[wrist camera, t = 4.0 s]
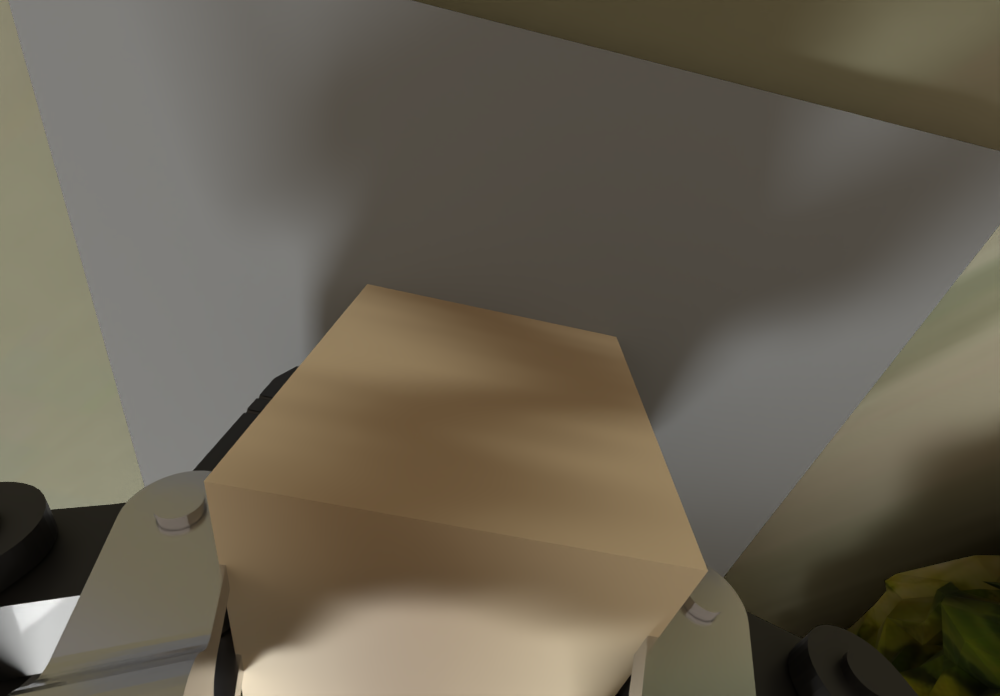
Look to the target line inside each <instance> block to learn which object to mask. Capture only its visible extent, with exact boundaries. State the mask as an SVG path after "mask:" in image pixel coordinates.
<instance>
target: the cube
mask: <svg viewBox="0 0 1000 696" xmlns="http://www.w3.org/2000/svg"><path fill="white" fill-rule="evenodd" d="M204 485H205V490H206V496H207V501H208V507H209V512H210V518H211V523H212V529H213V534H214V540H215V545H216V551H217V556H218V562H219V564H221V565H226V568H227V574H228V580H229V586H230V592H229V597H228V602H227V611H228V617H229V622H230V628H231V633H232V639H233V644H234V650H235V654H239V655H241V657H242V663H243V669H244V675H243V681H242V694H243V696H615V695H616V694H617V693H618V691H619V690H620V688H621V687H622V686H623V684H624V683H625V682H626V680H627V679H628V678H629V676H630V675H631V674H632V666H633V658H634V654H635V653H636V651H637V650H638V649H639V647H640V646H641V644H642V643H643V642H644V640H645V639H646V638H647V636H653V637H659V636H660V635H661V634H662V632H663V631H664V630H665V628H666V627H667V625H668V624H669V623H670V621H671V620H672V619H673V617H674V616H675V615H676V613H677V612H678V611H679V609H680V608H681V607H682V605H683V604H684V603H685V601H686V600H687V599H688V597H689V596H690V595H691V593H692V592H693V591H694V589H695V588H696V587H697V585H698V584H699V583H700V581H701V580H702V579H703V577H704V576H705V575H706V573H707V572H708V569H707V567H706V564H705V562H704V559H703V557H702V554H701V552H700V549H699V546H698V544H697V541H696V539H695V536H694V534H693V531H692V529H691V526H690V523H689V521H688V518H687V516H686V513H685V511H684V508H683V506H682V503H681V500H680V498H679V495H678V493H677V490H676V488H675V485H674V483H673V480H672V478H671V475H670V472H669V470H668V467H667V465H666V462H665V460H664V457H663V455H662V452H661V449H660V447H659V444H658V442H657V439H656V437H655V434H654V432H653V429H652V426H651V424H650V421H649V419H648V416H647V414H646V411H645V409H644V406H643V403H642V401H641V398H640V396H639V393H638V391H637V388H636V386H635V383H634V380H633V378H632V375H631V373H630V370H629V368H628V365H627V363H626V360H625V358H624V355H623V352H622V350H621V347H620V345H619V342H618V340H617V337H615V336H610V335H605V334H601V333H596V332H591V331H586V330H582V329H577V328H572V327H568V326H563V325H558V324H553V323H549V322H544V321H539V320H535V319H530V318H525V317H520V316H516V315H511V314H506V313H502V312H497V311H492V310H487V309H483V308H478V307H473V306H469V305H464V304H459V303H454V302H450V301H445V300H440V299H436V298H431V297H426V296H421V295H417V294H412V293H407V292H403V291H398V290H393V289H388V288H384V287H379V286H374V285H370V284H367V285H366V286H365V288H364V289H363V290H362V291H361V292H360V294H359V295H358V296H357V297H356V298H355V300H354V301H353V302H352V303H351V304H350V306H349V307H348V308H347V309H346V310H345V312H344V313H343V314H342V315H341V316H340V318H339V319H338V320H337V321H336V322H335V324H334V325H333V326H332V327H331V328H330V330H329V331H328V332H327V333H326V335H325V336H324V337H323V338H322V339H321V341H320V342H319V343H318V344H317V345H316V347H315V348H314V349H313V350H312V351H311V353H310V354H309V355H308V356H307V357H306V359H305V360H304V361H303V362H302V363H301V365H300V366H299V367H298V368H297V369H296V371H295V372H294V373H293V374H292V375H291V377H290V378H289V379H288V380H287V382H286V383H285V384H284V385H283V386H282V388H281V389H280V390H279V391H278V392H277V394H276V395H275V396H274V397H273V398H272V400H271V401H270V402H269V403H268V404H267V406H266V407H265V408H264V409H263V410H262V412H261V413H260V414H259V415H258V416H257V418H256V419H255V420H254V421H253V422H252V424H251V425H250V426H249V427H248V429H247V430H246V431H245V432H244V433H243V435H242V436H241V437H240V438H239V439H238V441H237V442H236V443H235V444H234V445H233V447H232V448H231V449H230V450H229V451H228V453H227V454H226V455H225V456H224V457H223V459H222V460H221V461H220V462H219V463H218V465H217V466H216V467H215V468H214V469H213V471H212V472H211V473H210V474H209V475H208V477H207V478H206V479H205V480H204Z"/></svg>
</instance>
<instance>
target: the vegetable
mask: <svg viewBox="0 0 1000 696" xmlns="http://www.w3.org/2000/svg"><path fill="white" fill-rule="evenodd" d="M884 581H885V585H886V589H887V591H886V592H885V593H884V594H883V595H882V597H881V598H880V599H879V600H878V601H877V602H876V604H875V605H874V606H872V607H871V608H870V609H869V610H868V611H867V612H866V613H865V614H864V615H863V616H862V617H861V618H860V619H859V620H858V621H857V622H856V623H855V624H854V625H852V626H851V627H850V628H849V629H847V631H849V632H851V633H853V634H855V635H857V636H858V637H860V638H862V639H863V640H865V641H866V642H867V643H869V644H870V645H872V646H873V647H874V648H875V649H876V650H878V651H879V652H880V653H881V654H882V655H883V656H884V657H885V658H886V659H887V660H888V661H889V662H890V663H891V664H892V665H893V666H894V667H895V668H896V669H897V670H898V671H899V673H900V674H901V675H902V676H903V677H904V679H905V680H906V681H907V682H908V684H909V685H910V686H911V687H912V688H913V690H914V691H915V692H916V693H917V695H918V696H1000V555H974V556H970V557H965V558H961V559H957V560H953V561H948V562H944V563H940V564H936V565H931V566H927V567H923V568H919V569H914V570H910V571H906V572H902V573H897V574H896V575H894V576H892V577H890V578H888V579H887V580H884Z"/></svg>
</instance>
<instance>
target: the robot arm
mask: <svg viewBox="0 0 1000 696" xmlns="http://www.w3.org/2000/svg"><path fill="white" fill-rule="evenodd" d="M297 368H298V366H296V367H294V368H292V369H290V370H289V371H287V372H285V373H283V374H281V375H279V376H277V377H275V378H274V379H273V380H272V381H271V382H270V383H269V385H268V386H267V387H266V388H265V389H264V390H263V391H262V393H261V394H260V396H259V398H256V399H255V401H254V402H253V403H252V404H251V405H250V406H249V407H248V408H247V412H246V413H243V414H242V415H241V416H240V418H239V419H238V420H237V421H236V422H235V423H234V424H233V425H232V427H231V428H230V429H229V430H228V431H227V432H226V433H225V435H224V436H223V437H222V438H221V439H220V440H219V441H218V443H217V444H216V445H215V446H214V447H213V448H212V449H211V450H210V452H209V453H208V454H207V455H206V456H205V457H204V458H203V460H202V461H201V462H200V463H199V464H198V465H197V466H196V467H195V469H194V470H193V471H188V472H182V473H177V474H173V475H170V476H167V477H164V478H162V479H160V480H157V481H155V482H153V483H151V484H150V485H148V486H146V487H144V488H143V489H142V490H140V491H139V492H137V493H136V494H135V495H134V496H133V497H132V498H130V499H129V500H128V502H127V503H120V504H112V505H100V506H89V507H77V508H66V509H54V510H50V508H49V505H48V503H47V501H46V499H45V497H44V495H43V494H42V492H41V491H40V490H39V489H37V488H35V487H34V486H31V485H28V484H24V483H17V482H0V696H240V695H241V688H242V681H243V675H244V669H243V663H242V657H241V655H239V654H235V650H234V644H233V639H232V633H231V628H230V622H229V617H228V611H227V602H228V597H229V592H230V586H229V580H228V574H227V568H226V565H221V564H219V562H218V556H217V551H216V545H215V540H214V534H213V529H212V523H211V518H210V512H209V507H208V501H207V496H206V490H205V485H204V480H205V479H206V478H207V477H208V475H209V474H210V473H211V472H212V471H213V469H214V468H215V467H216V466H217V465H218V463H219V462H220V461H221V460H222V459H223V457H224V456H225V455H226V454H227V453H228V451H229V450H230V449H231V448H232V447H233V445H234V444H235V443H236V442H237V441H238V439H239V438H240V437H241V436H242V435H243V433H244V432H245V431H246V430H247V429H248V427H249V426H250V425H251V424H252V422H253V421H254V420H255V419H256V418H257V416H258V415H259V414H260V413H261V412H262V410H263V409H264V408H265V407H266V406H267V404H268V403H269V402H270V401H271V400H272V398H273V397H274V396H275V395H276V394H277V392H278V391H279V390H280V389H281V388H282V386H283V385H284V384H285V383H286V382H287V380H288V379H289V378H290V377H291V375H292V374H293V373H294V372H295V371H296V369H297ZM706 567H707V569H708V572H707V573H706V575H705V576H704V577H703V579H702V580H701V581H700V583H699V584H698V585H697V587H696V588H695V589H694V591H693V592H692V593H691V595H690V596H689V597H688V599H687V600H686V601H685V603H684V604H683V605H682V607H681V608H680V609H679V611H678V612H677V613H676V615H675V616H674V617H673V619H672V620H671V621H670V623H669V624H668V625H667V627H666V628H665V630H664V631H663V632H662V634H661V635H660V636H659V637H653V636H647V638H646V639H645V640H644V642H643V643H642V644H641V646H640V647H639V649H638V650H637V651H636V653H635V654H634V658H633V666H632V674H631V675H630V676H629V678H628V679H627V680H626V682H625V683H624V684H623V686H622V687H621V688H620V690H619V691H618V693H617V694H616V695H615V696H918V695H917V693H916V692H915V691H914V690H913V688H912V687H911V686H910V685H909V684H908V682H907V681H906V680H905V679H904V677H903V676H902V675H901V674H900V673H899V671H898V670H897V669H896V668H895V667H894V666H893V665H892V664H891V663H890V662H889V661H888V660H887V659H886V658H885V657H884V656H883V655H882V654H881V653H880V652H879V651H878V650H876V649H875V648H874V647H873V646H872V645H870V644H869V643H867V642H866V641H865V640H863V639H862V638H860V637H858V636H857V635H855V634H853V633H851V632H849V631H847V630H845V629H842V628H840V627H837V626H832V625H821V626H817V627H815V628H814V629H812V630H811V631H810V632H809V633H808V634H807V635H806V636H805V637H804V638H803V639H802V638H799V637H797V636H795V635H793V634H791V633H789V632H787V631H785V630H783V629H781V628H779V627H777V626H775V625H773V624H771V623H769V622H766V621H764V620H762V619H760V618H758V617H756V616H754V615H752V614H751V613H749V612H747V611H746V610H745V608H744V605H743V603H742V601H741V599H740V598H739V596H738V595H737V593H736V592H735V590H734V589H733V588H732V587H731V585H730V584H729V583H728V582H727V581H726V580H725V579H724V578H723V577H722V576H721V575H720V574H719V573H717V572H716V571H715V570H713V569H712V568H711V567H709V566H708V565H706Z"/></svg>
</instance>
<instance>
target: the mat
mask: <svg viewBox="0 0 1000 696" xmlns="http://www.w3.org/2000/svg"><path fill="white" fill-rule="evenodd" d="M8 1H9V5H10V8H11V12H12V15H13V19H14V22H15V26H16V29H17V33H18V37H19V40H20V44H21V47H22V51H23V54H24V58H25V62H26V65H27V69H28V72H29V76H30V79H31V83H32V87H33V90H34V94H35V97H36V101H37V104H38V108H39V111H40V115H41V119H42V122H43V126H44V129H45V133H46V136H47V140H48V144H49V147H50V151H51V154H52V158H53V161H54V165H55V168H56V172H57V176H58V179H59V183H60V186H61V190H62V193H63V197H64V201H65V204H66V208H67V211H68V215H69V218H70V222H71V226H72V229H73V233H74V236H75V240H76V243H77V247H78V250H79V254H80V258H81V261H82V265H83V268H84V272H85V275H86V279H87V283H88V286H89V290H90V293H91V297H92V300H93V304H94V307H95V311H96V315H97V318H98V322H99V325H100V329H101V332H102V336H103V340H104V343H105V347H106V350H107V354H108V357H109V361H110V364H111V368H112V372H113V375H114V379H115V382H116V386H117V389H118V393H119V397H120V400H121V404H122V407H123V411H124V414H125V418H126V422H127V425H128V429H129V432H130V436H131V439H132V443H133V446H134V450H135V454H136V457H137V461H138V464H139V468H140V471H141V475H142V479H143V482H144V486H145V487H146V486H148V485H150V484H151V483H153V482H155V481H157V480H160V479H162V478H164V477H167V476H170V475H173V474H177V473H182V472H188V471H193V470H194V469H195V467H196V466H197V465H198V464H199V463H200V462H201V461H202V460H203V458H204V457H205V456H206V455H207V454H208V453H209V452H210V450H211V449H212V448H213V447H214V446H215V445H216V444H217V443H218V441H219V440H220V439H221V438H222V437H223V436H224V435H225V433H226V432H227V431H228V430H229V429H230V428H231V427H232V425H233V424H234V423H235V422H236V421H237V420H238V419H239V418H240V416H241V415H242V414H243V413H246V412H247V408H248V407H249V406H250V405H251V404H252V403H253V402H254V401H255V399H256V398H259V396H260V394H261V393H262V391H263V390H264V389H265V388H266V387H267V386H268V385H269V383H270V382H271V381H272V380H273V379H274V378H275V377H277V376H279V375H281V374H283V373H285V372H287V371H289V370H290V369H292V368H294V367H296V366H298V367H299V366H300V365H301V363H302V362H303V361H304V360H305V359H306V357H307V356H308V355H309V354H310V353H311V351H312V350H313V349H314V348H315V347H316V345H317V344H318V343H319V342H320V341H321V339H322V338H323V337H324V336H325V335H326V333H327V332H328V331H329V330H330V328H331V327H332V326H333V325H334V324H335V322H336V321H337V320H338V319H339V318H340V316H341V315H342V314H343V313H344V312H345V310H346V309H347V308H348V307H349V306H350V304H351V303H352V302H353V301H354V300H355V298H356V297H357V296H358V295H359V294H360V292H361V291H362V290H363V289H364V288H365V286H366V285H367V284H370V285H374V286H379V287H384V288H388V289H393V290H398V291H403V292H407V293H412V294H417V295H421V296H426V297H431V298H436V299H440V300H445V301H450V302H454V303H459V304H464V305H469V306H473V307H478V308H483V309H487V310H492V311H497V312H502V313H506V314H511V315H516V316H520V317H525V318H530V319H535V320H539V321H544V322H549V323H553V324H558V325H563V326H568V327H572V328H577V329H582V330H586V331H591V332H596V333H601V334H605V335H610V336H615V337H617V340H618V342H619V345H620V347H621V350H622V352H623V355H624V358H625V360H626V363H627V365H628V368H629V370H630V373H631V375H632V378H633V380H634V383H635V386H636V388H637V391H638V393H639V396H640V398H641V401H642V403H643V406H644V409H645V411H646V414H647V416H648V419H649V421H650V424H651V426H652V429H653V432H654V434H655V437H656V439H657V442H658V444H659V447H660V449H661V452H662V455H663V457H664V460H665V462H666V465H667V467H668V470H669V472H670V475H671V478H672V480H673V483H674V485H675V488H676V490H677V493H678V495H679V498H680V500H681V503H682V506H683V508H684V511H685V513H686V516H687V518H688V521H689V523H690V526H691V529H692V531H693V534H694V536H695V539H696V541H697V544H698V546H699V549H700V552H701V554H702V557H703V559H704V562H705V564H706V565H708V566H709V567H711V568H712V569H713V570H715V571H716V572H717V573H719V574H720V575H721V576H722V577H724V576H725V574H726V573H727V572H728V571H729V569H730V568H731V567H732V566H733V564H734V563H735V562H736V560H737V559H738V558H739V557H740V555H741V554H742V553H743V552H744V550H745V549H746V548H747V546H748V545H749V544H750V543H751V541H752V540H753V539H754V538H755V536H756V535H757V534H758V532H759V531H760V530H761V529H762V527H763V526H764V525H765V523H766V522H767V521H768V520H769V518H770V517H771V516H772V515H773V513H774V512H775V511H776V509H777V508H778V507H779V506H780V504H781V503H782V502H783V501H784V499H785V498H786V497H787V495H788V494H789V493H790V492H791V490H792V489H793V488H794V487H795V485H796V484H797V483H798V481H799V480H800V479H801V478H802V476H803V475H804V474H805V472H806V471H807V470H808V469H809V467H810V466H811V465H812V464H813V462H814V461H815V460H816V458H817V457H818V456H819V455H820V453H821V452H822V451H823V450H824V448H825V447H826V446H827V444H828V443H829V442H830V441H831V439H832V438H833V437H834V436H835V434H836V433H837V432H838V430H839V429H840V428H841V427H842V425H843V424H844V423H845V421H846V420H847V419H848V418H849V416H850V415H851V414H852V413H853V411H854V410H855V409H856V407H857V406H858V405H859V404H860V402H861V401H862V400H863V399H864V397H865V396H866V395H867V393H868V392H869V391H870V390H871V388H872V387H873V386H874V385H875V383H876V382H877V381H878V379H879V378H880V377H881V376H882V374H883V373H884V372H885V370H886V369H887V368H888V367H889V365H890V364H891V363H892V362H893V360H894V359H895V358H896V356H897V355H898V354H899V353H900V351H901V350H902V349H903V348H904V346H905V345H906V344H907V342H908V341H909V340H910V339H911V337H912V336H913V335H914V334H915V332H916V331H917V330H918V328H919V327H920V326H921V325H922V323H923V322H924V321H925V319H926V318H927V317H928V316H929V314H930V313H931V312H932V311H933V309H934V308H935V307H936V305H937V304H938V303H939V302H940V300H941V299H942V298H943V297H944V295H945V294H946V293H947V291H948V290H949V289H950V288H951V286H952V285H953V284H954V283H955V281H956V280H957V279H958V277H959V276H960V275H961V274H962V272H963V271H964V270H965V268H966V267H967V266H968V265H969V263H970V262H971V261H972V260H973V258H974V257H975V256H976V254H977V253H978V252H979V251H980V249H981V248H982V247H983V246H984V244H985V243H986V242H987V240H988V239H989V238H990V237H991V235H992V234H993V233H994V232H995V230H996V229H997V228H998V226H999V225H1000V151H998V150H994V149H990V148H986V147H982V146H978V145H974V144H971V143H967V142H963V141H959V140H955V139H951V138H947V137H943V136H939V135H935V134H932V133H928V132H924V131H920V130H916V129H912V128H908V127H904V126H900V125H896V124H893V123H889V122H885V121H881V120H877V119H873V118H869V117H865V116H861V115H857V114H853V113H850V112H846V111H842V110H838V109H834V108H830V107H826V106H822V105H818V104H814V103H811V102H807V101H803V100H799V99H795V98H791V97H787V96H783V95H779V94H775V93H772V92H768V91H764V90H760V89H756V88H752V87H748V86H744V85H740V84H736V83H733V82H729V81H725V80H721V79H717V78H713V77H709V76H705V75H701V74H697V73H694V72H690V71H686V70H682V69H678V68H674V67H670V66H666V65H662V64H658V63H655V62H651V61H647V60H643V59H639V58H635V57H631V56H627V55H623V54H619V53H616V52H612V51H608V50H604V49H600V48H596V47H592V46H588V45H584V44H580V43H577V42H573V41H569V40H565V39H561V38H557V37H553V36H549V35H545V34H541V33H537V32H534V31H530V30H526V29H522V28H518V27H514V26H510V25H506V24H502V23H498V22H495V21H491V20H487V19H483V18H479V17H475V16H471V15H467V14H463V13H459V12H456V11H452V10H448V9H444V8H440V7H436V6H432V5H428V4H424V3H420V2H417V1H413V0H8Z"/></svg>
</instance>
